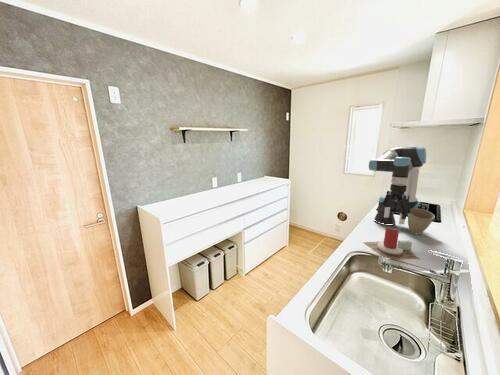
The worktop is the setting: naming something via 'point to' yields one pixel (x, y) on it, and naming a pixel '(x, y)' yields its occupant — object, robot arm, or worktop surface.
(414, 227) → the plant pot
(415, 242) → the worktop surface
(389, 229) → the beer can
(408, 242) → the white oval dish
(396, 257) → the board
